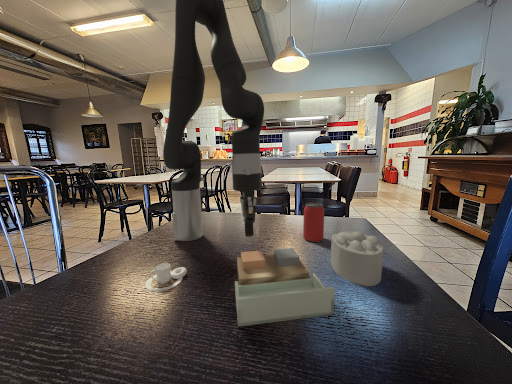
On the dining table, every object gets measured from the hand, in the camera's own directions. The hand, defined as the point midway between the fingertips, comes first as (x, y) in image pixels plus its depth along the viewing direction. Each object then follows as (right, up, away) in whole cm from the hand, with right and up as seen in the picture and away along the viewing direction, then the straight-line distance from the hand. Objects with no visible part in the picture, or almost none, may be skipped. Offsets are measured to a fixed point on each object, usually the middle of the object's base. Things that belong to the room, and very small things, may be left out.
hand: (249, 235), depth 59 cm
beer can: (+21, -4, +14) cm, 26 cm away
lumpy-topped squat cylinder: (+26, -8, -6) cm, 28 cm away
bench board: (+5, -8, -8) cm, 12 cm away
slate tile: (+9, -5, -7) cm, 12 cm away
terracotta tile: (+1, -5, -8) cm, 9 cm away
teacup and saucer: (-16, -10, -10) cm, 21 cm away
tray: (+7, -10, -17) cm, 21 cm away
